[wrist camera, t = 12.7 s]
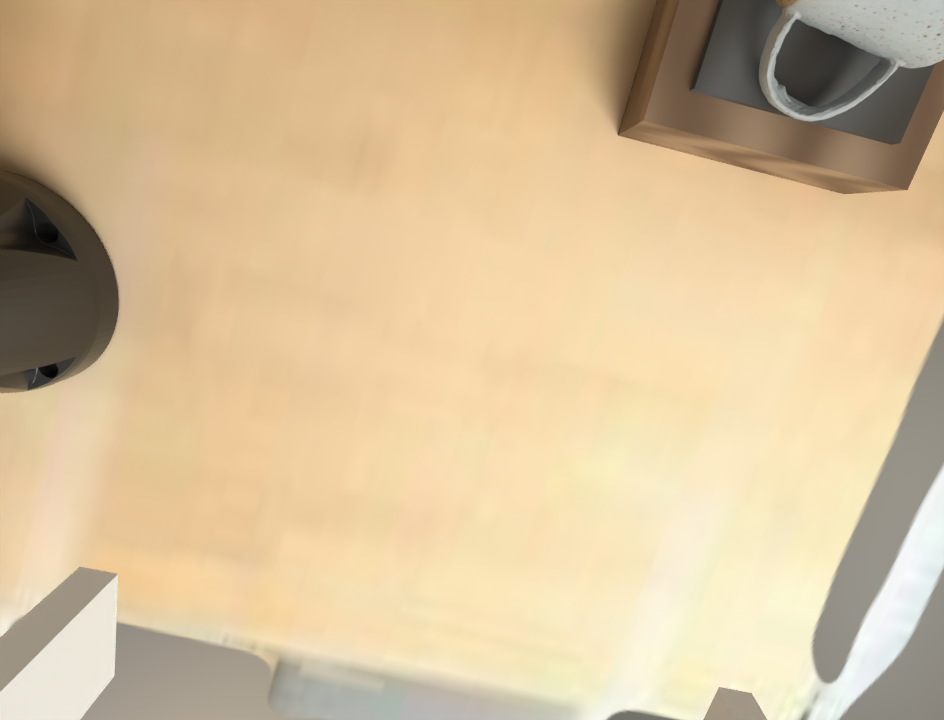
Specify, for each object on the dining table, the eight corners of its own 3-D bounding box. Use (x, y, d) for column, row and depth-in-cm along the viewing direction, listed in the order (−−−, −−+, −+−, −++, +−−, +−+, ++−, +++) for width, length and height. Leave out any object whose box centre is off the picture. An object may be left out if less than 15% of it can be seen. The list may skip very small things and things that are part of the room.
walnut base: (618, 135, 32) (646, 118, 27) (705, -164, 28) (760, -255, 22) (844, 193, 33) (916, 189, 28) (962, -86, 29) (1075, -156, 23)
